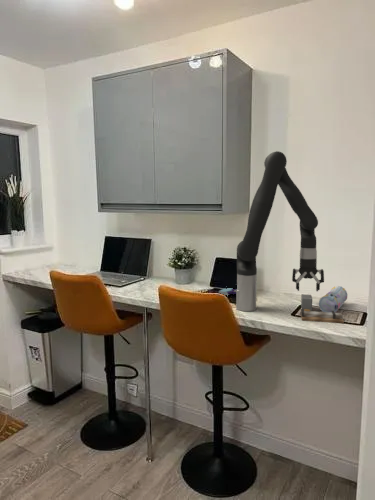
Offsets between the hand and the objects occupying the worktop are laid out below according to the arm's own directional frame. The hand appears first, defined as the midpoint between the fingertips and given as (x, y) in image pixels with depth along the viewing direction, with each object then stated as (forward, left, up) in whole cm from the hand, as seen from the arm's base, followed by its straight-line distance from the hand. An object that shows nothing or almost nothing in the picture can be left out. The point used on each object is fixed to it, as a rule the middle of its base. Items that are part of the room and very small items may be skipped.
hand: (307, 290), depth 173 cm
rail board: (+5, -13, -9) cm, 16 cm away
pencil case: (+12, +4, -10) cm, 16 cm away
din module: (0, 0, -9) cm, 9 cm away
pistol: (-36, +19, -10) cm, 42 cm away
